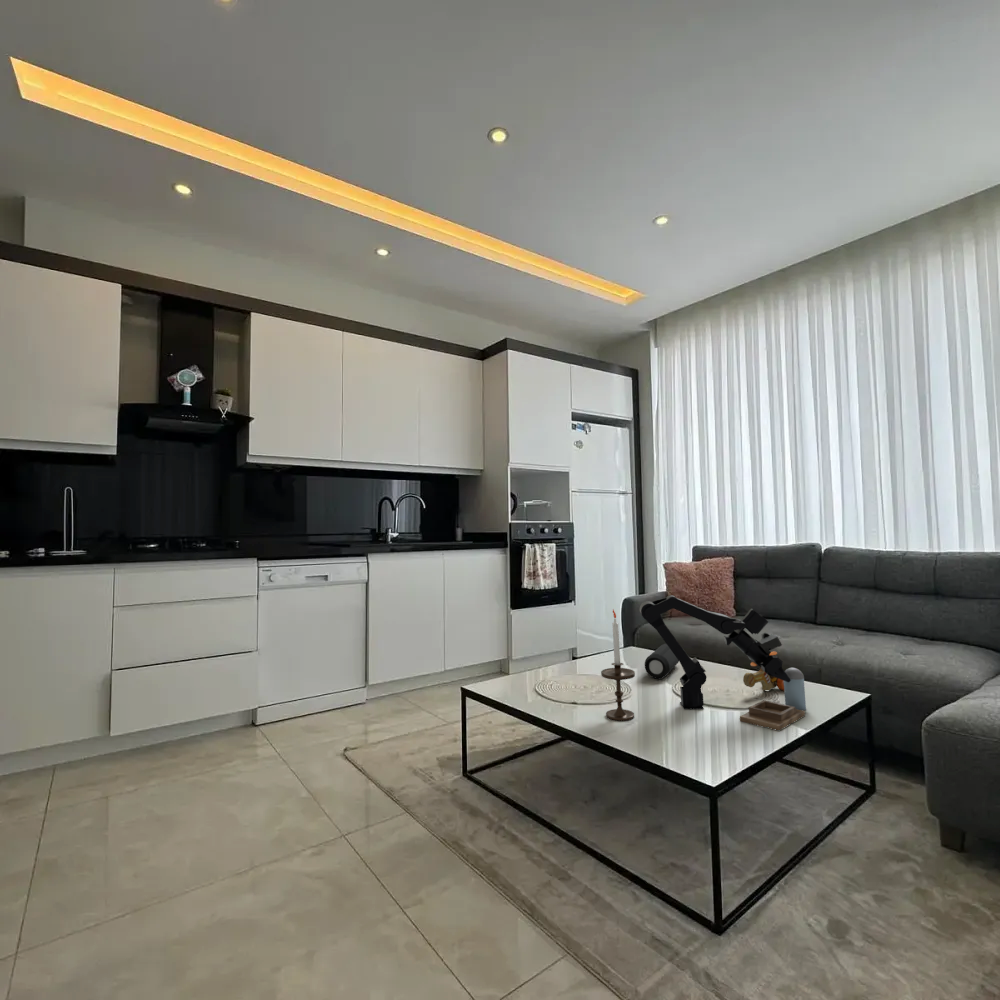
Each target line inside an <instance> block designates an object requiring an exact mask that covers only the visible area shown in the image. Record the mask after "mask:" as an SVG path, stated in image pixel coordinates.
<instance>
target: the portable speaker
mask: <svg viewBox="0 0 1000 1000" xmlns="http://www.w3.org/2000/svg"><path fill="white" fill-rule="evenodd" d="M679 663H680V662H679V660H678V659H677V658H676V656H675V655H674V653H673V652H672V651H671V649H670V648H669V647H668V645H667V644H666V643H663V644H661V645H660V646H659V647H657V649H655V650H654V651H653V652H652V653H651V654H649V655H648V656H647V657H646V659H645V661H644V670H645V672H646V673H647V675H649V676H650V678H653V679H656V680H657V679H658V680H659V679H660V680H661V679H664V678H666V677H667V675H668V674H669V673H670V672H671V671H672V670H673V669H674V668H675V667H676V666H677V664H679Z"/></svg>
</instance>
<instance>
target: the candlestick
mask: <svg viewBox="0 0 1000 1000" xmlns="http://www.w3.org/2000/svg"><path fill="white" fill-rule="evenodd" d="M612 613H613V618H614V619H613V622H612V636H613V643H612V644H613V658H614V662H612V663H611V666H614V667H610V668H605V669H602V670H601V671H600V673H601V674H600V676H601V677H602V678H604V679H608V680H615V684H616V685H615V686H616V691H614V695H615V697H616V699H615V702H616V703H617V704H616V705H617V707H616V708H615V709H614V708H613V709H610V710H607V711H606V713H605V715H606V716H605V717H606V719H607V720H611V721H615V722H629V721H631V720H634V719H635V713H634V712H633V711H632V710H628V709H625V708H624V709H623V705H622V703H623V702H624V700H623V699H622V697H623V695H624V692H623V691H622V689H621V688H622V686H621V681H624V680H630V679H631V680H632V679H633V678H634V677H635V675H636V672H635V671H634V670H633V669H631V668H626V667H622V666H624V663H622V662H621V651H620V649H621V647H620V632H619V629H620V628H619V623H618V621H617V614H616V611H615V610H614V608H613V609H612Z"/></svg>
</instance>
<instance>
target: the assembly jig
mask: <svg viewBox="0 0 1000 1000" xmlns="http://www.w3.org/2000/svg"><path fill="white" fill-rule="evenodd" d="M805 712H806V711H805V710H803V711H802V710H798V709H796V707H793V706H789V705H785V703H784V704H783V703H779V702H775V701H770V700H765V699H763V700H761V701H759V702H757V703H755V704H753V705H751V706H748V712H746V713H743V714H741V715H740V716H739V721H740V722H742V723H747V724H750V725H754V726H757V725H758V726H759V727H761V726H763V727H762V728H765V727H769V728H772V729H771V730H773V729H776V730H775V731H777V730H780V731H782V730H783V729H782V728H784V727H785V728H787V727H788V726H787V725H789V724H790V725H792V724H794V723H795V722H797V721H799V720H800V719H799V718H801V717H802V718H804V717H806V713H805ZM803 716H804V717H803ZM802 718H801V719H802ZM798 719H799V720H798ZM796 720H797V721H796ZM794 721H795V722H794ZM793 722H794V723H793ZM791 723H792V724H791ZM790 725H789V726H790ZM786 726H787V727H786ZM769 728H768V729H769ZM785 728H784V729H785ZM781 729H782V730H781Z"/></svg>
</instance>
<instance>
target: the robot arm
mask: <svg viewBox="0 0 1000 1000" xmlns="http://www.w3.org/2000/svg"><path fill="white" fill-rule="evenodd" d="M673 609H675V610H677V611H678V612H680V613H684V614H685V615H689V616H690V617H692V618H695V619H697V620H699V621H701V622H705V623H706V624H707V625H709V626H711V627H712V628H714V629H715V630H716V631H718V632H720V633H721V634H723V635H724V636H723V637H724V644H725V645H726V646H730V644H732V643H733V645H734V646H736V647H737V648H738V649H740V651H741V652H742V653H743V654H744V655H746V656H747V657H748V659H749V660H750V661H751V663H752V662H754V663H755V664H756V665H757V666H758V667H760V668H761V669H762V670H763V671H765V672H766V673H767V674H768V675H770V676H773V677H776V678H778V679H781V680H784V681H786V682H790V681H791V679H790V678H789V677H788V675H787V674H786V673H785V670H784V668H783V663H784V662H783V660H781V658H779V657H778V656H777V655H770V653H771V652H772V650H774V649H776V648H778V647H782V645H783V644H782V642H781V640H780V638H779V636H778V635H776V634H774V633H771V634H769V633H768V632H763V633H762V634H761V638H760V640H757V638H756V639H755V638H754V637H753V636H751V635H759V634H760V632H761V631H762V630H764V628H765V627H766V626H767V625H768V624H769V623H770V622H769V621H768V620H767V618H765V617H764V616H763V615H762V614H759V613H758V612H757V611H756V610H755V609H753V608H750V609H749V610H748V611H747V613H746V614H745V615H744V616H743V617H742V618H741V619H739V618H732V617H730V616H728V615H726V614H723V613H720V612H715V611H709V610H706V609H703V608H701V607H700V606H697V605H694V604H692V603H690V602H687V601H685V600H683V599H680V598H677V597H676V596H674V595H672V594H671V595H668V596H665V597H662V598H660V599H656V600H652V601H649V600H648V601H647V600H646V601H643V602H642V603H641V604H640V606H639V612H640V614H641V616H642V618H644V620H645V621H646V622H647V623H648V624H649V625H651V627H653V628H654V629H655V631H656V632H658V634H659V635H660V637H661V638H662V640H663V641H664V643H665V644H667V645H668V647H669V648H670V649H671V651H672V652H673V653H674V655H675V656H676V658H677V659H678V660H679V662H678V663H680V665H681V669H683V671H684V674H683V675H682V676H681V677H680V678H679V681H680V684H681V685H682V686H680V687H679V689H680V691H679V692H680V701H679V704H680V705H681V707H682V709H683V710H704V693H703V692H702V686H703V685H704V684H705V683H706V682H707V677H708V676H707V675H706V673H707V671H706V669H705V668H704V667H703V666H702V665H701V663H700V662H699V660H698V659H697V657H696V656H695V657H693V658H691V656H689V655H688V654H687V652H686V651H685V650H684V648H683V647H682V644H680V643H679V641H678V640H677V638H676V637H675V636H674V634H673V633H672V631H671V630H670V629H669V628H668V626H667V625H666V623H665V621H664V619H663V618H662V617H663V616H662V614H664V613H667V612H668V611H671V610H673ZM748 632H749V633H748ZM750 634H751V635H750Z"/></svg>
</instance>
